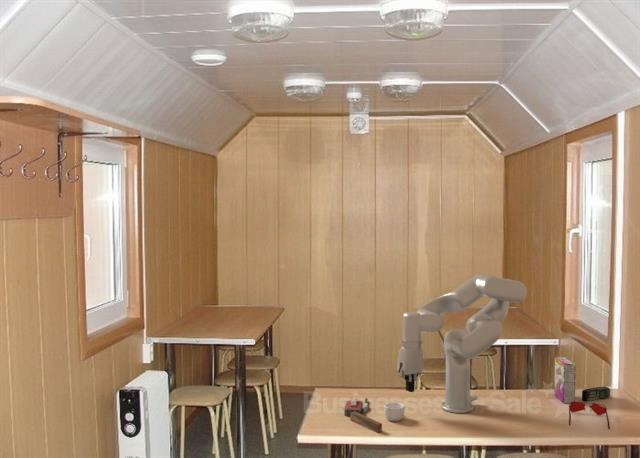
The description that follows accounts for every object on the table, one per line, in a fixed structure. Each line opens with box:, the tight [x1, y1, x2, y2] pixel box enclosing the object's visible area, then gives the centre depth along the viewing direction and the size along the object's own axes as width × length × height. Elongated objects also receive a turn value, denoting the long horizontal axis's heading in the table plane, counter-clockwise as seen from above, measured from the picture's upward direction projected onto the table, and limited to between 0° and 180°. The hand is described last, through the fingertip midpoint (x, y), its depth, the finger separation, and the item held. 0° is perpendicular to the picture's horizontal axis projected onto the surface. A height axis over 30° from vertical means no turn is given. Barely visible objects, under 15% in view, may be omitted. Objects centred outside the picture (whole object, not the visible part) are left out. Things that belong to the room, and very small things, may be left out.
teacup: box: [383, 401, 405, 422], centre depth 250 cm, size 10×8×5 cm
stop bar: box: [349, 411, 383, 434], centre depth 242 cm, size 2×16×3 cm, turn 35°
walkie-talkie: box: [344, 398, 369, 417], centre depth 261 cm, size 9×4×20 cm
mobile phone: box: [581, 386, 611, 403], centre depth 272 cm, size 5×3×15 cm
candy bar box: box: [554, 356, 576, 405], centre depth 272 cm, size 11×5×16 cm, turn 179°
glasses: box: [568, 401, 611, 430], centre depth 248 cm, size 14×16×5 cm
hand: (409, 390), depth 255 cm, fingers closed
